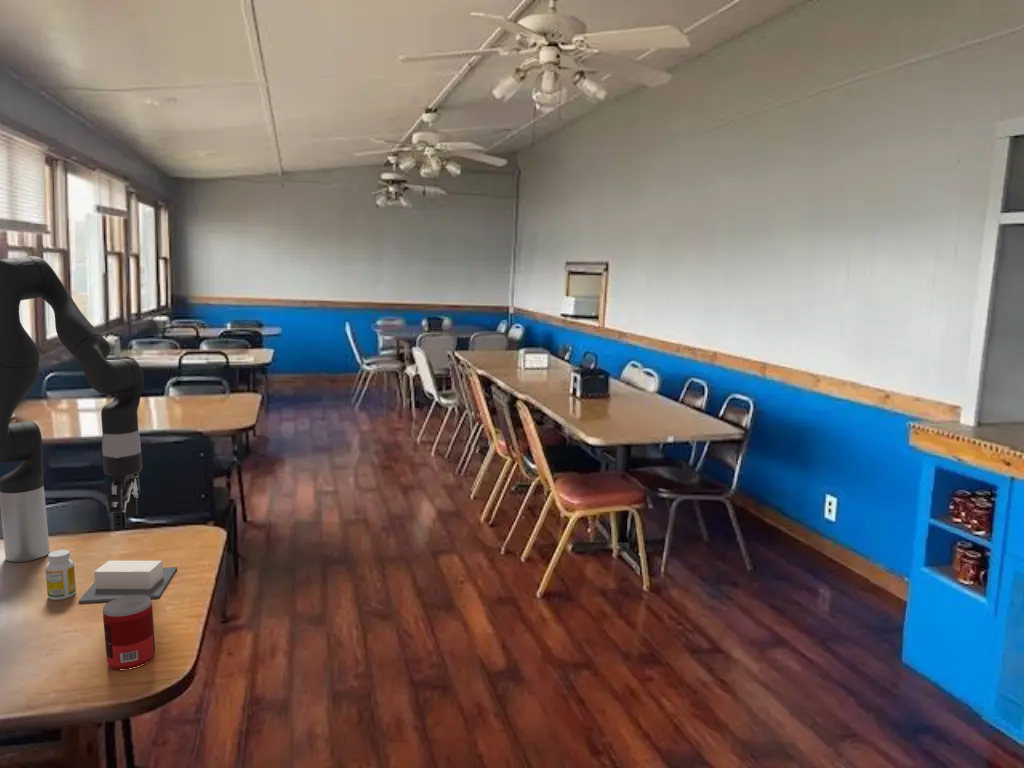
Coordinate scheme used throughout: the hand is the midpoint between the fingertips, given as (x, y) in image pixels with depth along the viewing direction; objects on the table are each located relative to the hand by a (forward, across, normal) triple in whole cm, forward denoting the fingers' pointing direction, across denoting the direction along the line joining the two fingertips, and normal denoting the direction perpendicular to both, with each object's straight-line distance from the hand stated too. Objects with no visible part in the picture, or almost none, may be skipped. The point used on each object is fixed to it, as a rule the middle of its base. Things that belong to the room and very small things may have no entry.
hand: (126, 522), depth 171 cm
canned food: (+14, +36, +10) cm, 40 cm away
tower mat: (+15, 0, 0) cm, 15 cm away
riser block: (+14, +1, 0) cm, 14 cm away
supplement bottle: (+15, +3, -13) cm, 20 cm away
